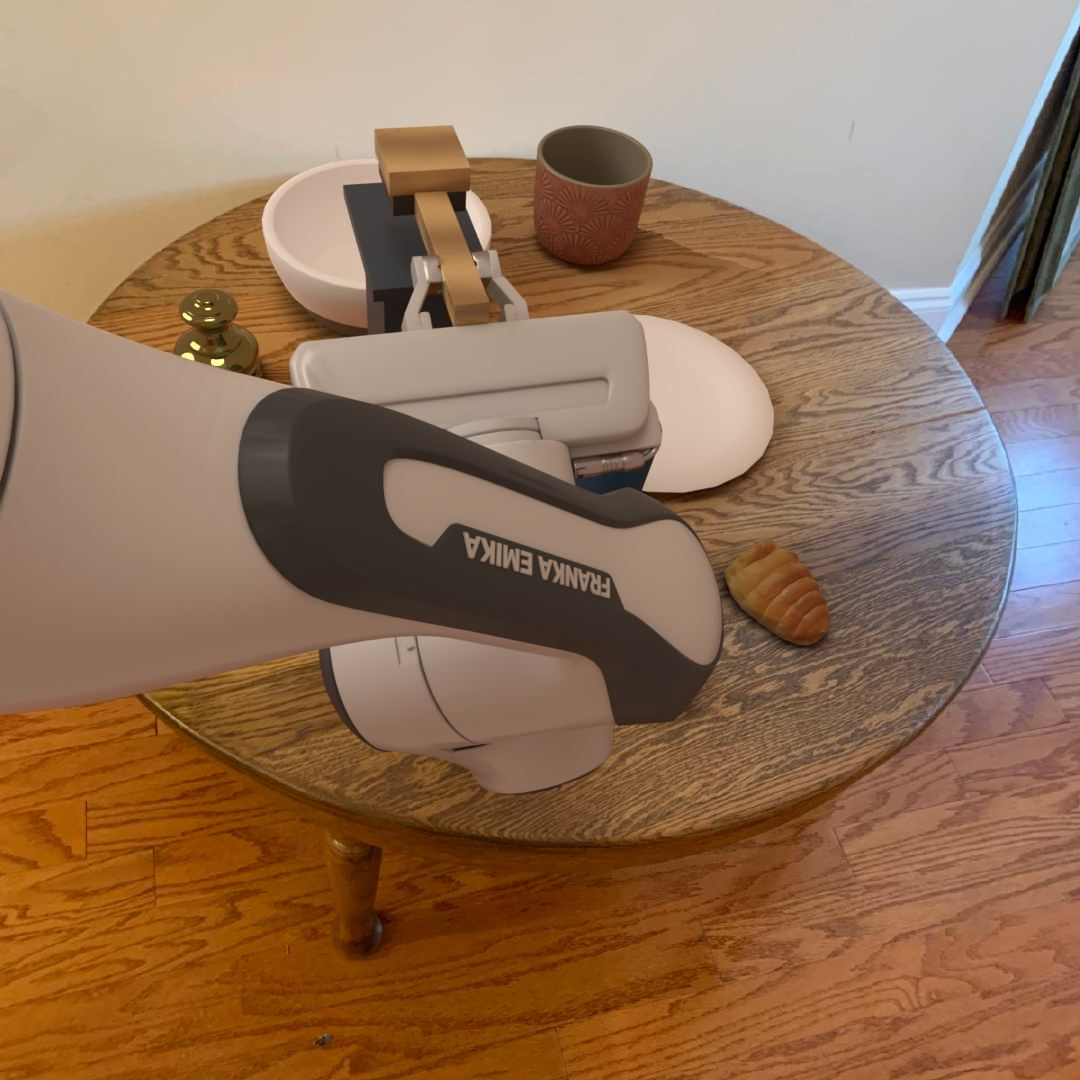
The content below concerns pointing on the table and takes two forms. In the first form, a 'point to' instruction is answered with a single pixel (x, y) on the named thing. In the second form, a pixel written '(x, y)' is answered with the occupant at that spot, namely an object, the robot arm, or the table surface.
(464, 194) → the brush
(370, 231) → the stand
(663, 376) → the plate
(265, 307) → the table surface
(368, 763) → the table surface
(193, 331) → the brass bell weight
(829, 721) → the table surface
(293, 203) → the bowl
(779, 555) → the pastry
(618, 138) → the planter
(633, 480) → the cup
